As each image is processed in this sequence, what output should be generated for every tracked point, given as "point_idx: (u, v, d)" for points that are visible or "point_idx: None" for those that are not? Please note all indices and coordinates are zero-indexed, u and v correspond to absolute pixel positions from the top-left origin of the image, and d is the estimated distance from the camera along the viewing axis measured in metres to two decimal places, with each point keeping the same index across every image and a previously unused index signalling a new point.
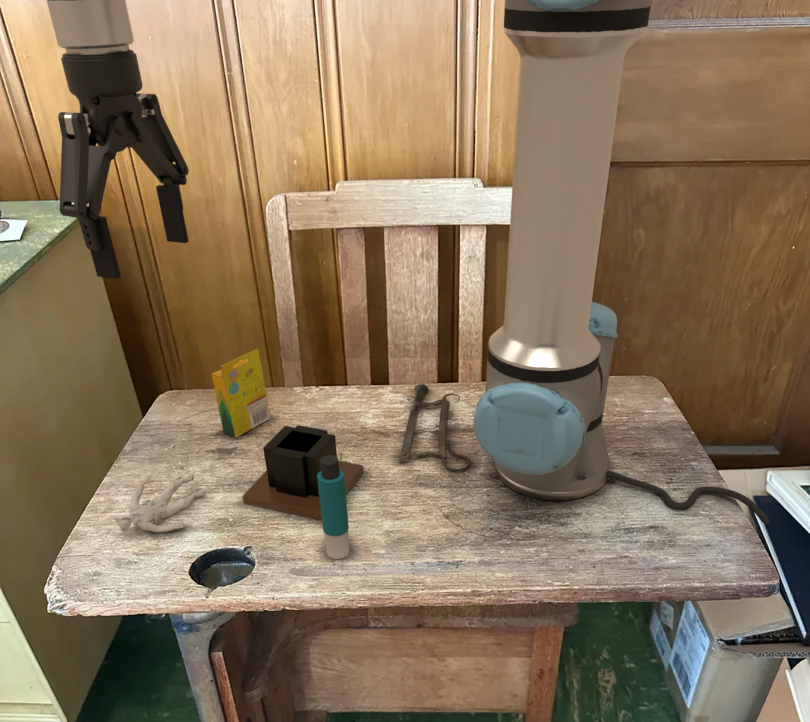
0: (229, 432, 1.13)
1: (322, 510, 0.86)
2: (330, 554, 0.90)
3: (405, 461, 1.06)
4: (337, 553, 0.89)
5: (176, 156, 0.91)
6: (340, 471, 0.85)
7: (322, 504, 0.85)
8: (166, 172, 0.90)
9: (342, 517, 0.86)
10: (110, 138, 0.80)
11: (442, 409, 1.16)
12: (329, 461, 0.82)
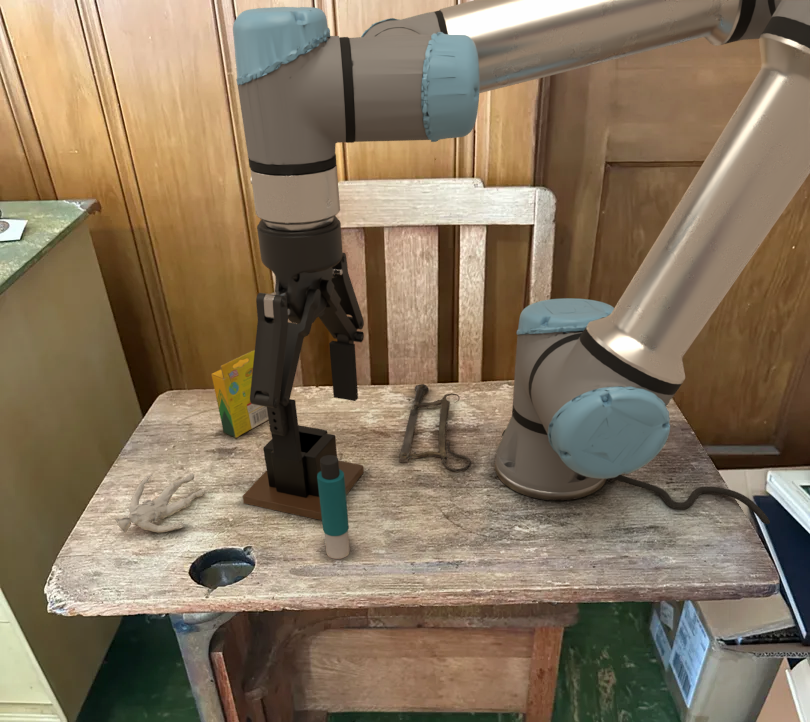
0: (229, 432, 1.13)
1: (322, 510, 0.86)
2: (330, 554, 0.90)
3: (405, 461, 1.06)
4: (337, 553, 0.89)
5: (355, 312, 0.81)
6: (340, 471, 0.85)
7: (322, 504, 0.85)
8: (345, 331, 0.80)
9: (342, 517, 0.86)
10: (306, 315, 0.70)
11: (442, 409, 1.16)
12: (329, 461, 0.82)
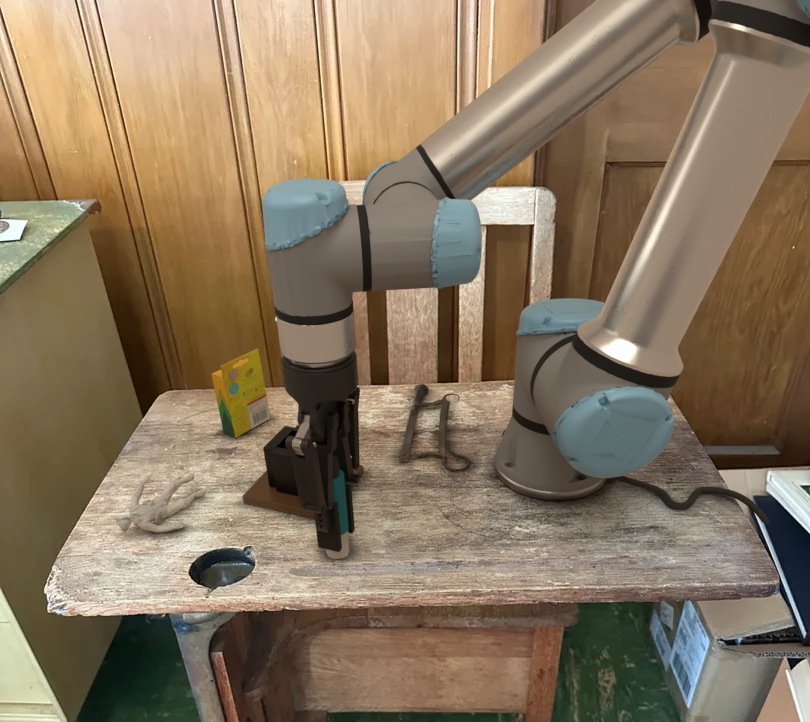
0: (229, 432, 1.13)
1: None
2: (330, 554, 0.90)
3: (405, 461, 1.06)
4: (337, 553, 0.89)
5: (355, 449, 0.86)
6: (340, 471, 0.85)
7: None
8: (345, 467, 0.85)
9: (342, 516, 0.86)
10: (330, 439, 0.78)
11: (442, 409, 1.16)
12: None
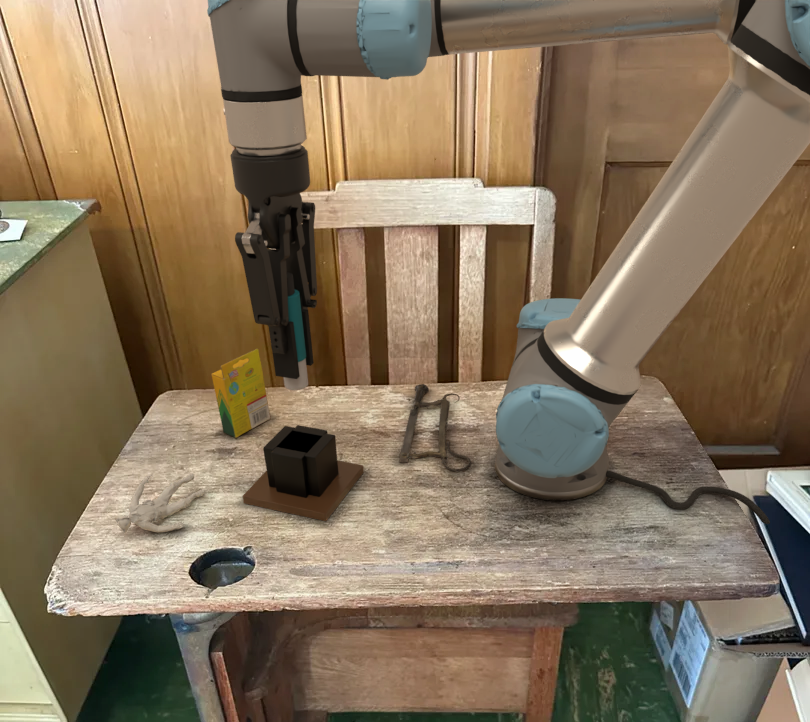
0: (229, 432, 1.13)
1: None
2: (288, 385, 0.88)
3: (405, 461, 1.06)
4: (295, 383, 0.88)
5: (312, 271, 0.85)
6: (295, 290, 0.83)
7: None
8: (301, 287, 0.84)
9: (298, 340, 0.85)
10: (283, 243, 0.77)
11: (442, 409, 1.16)
12: None
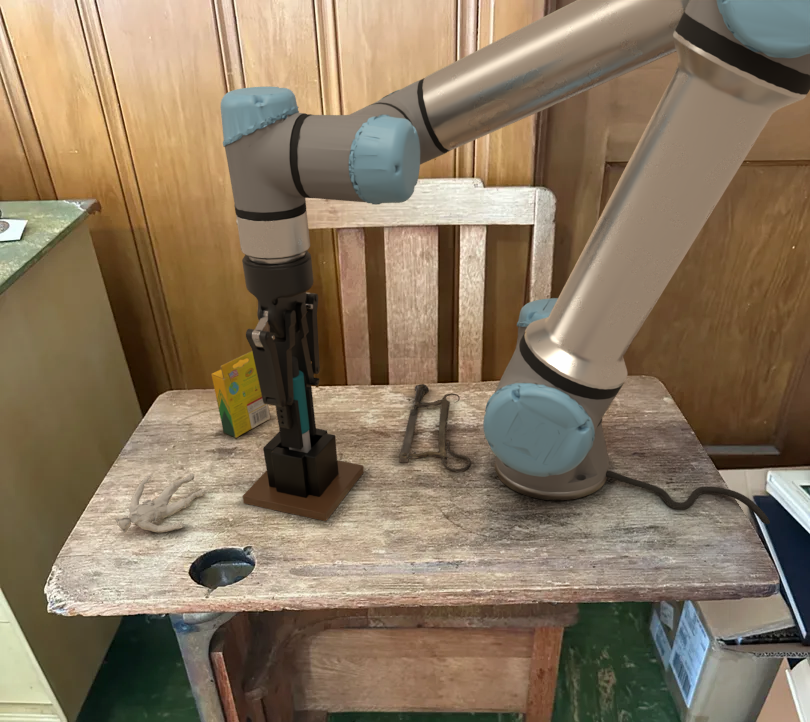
0: (229, 432, 1.13)
1: None
2: None
3: (405, 461, 1.06)
4: None
5: (315, 353, 0.94)
6: (300, 372, 0.92)
7: None
8: (305, 369, 0.93)
9: (302, 415, 0.94)
10: (288, 335, 0.86)
11: (442, 409, 1.16)
12: None
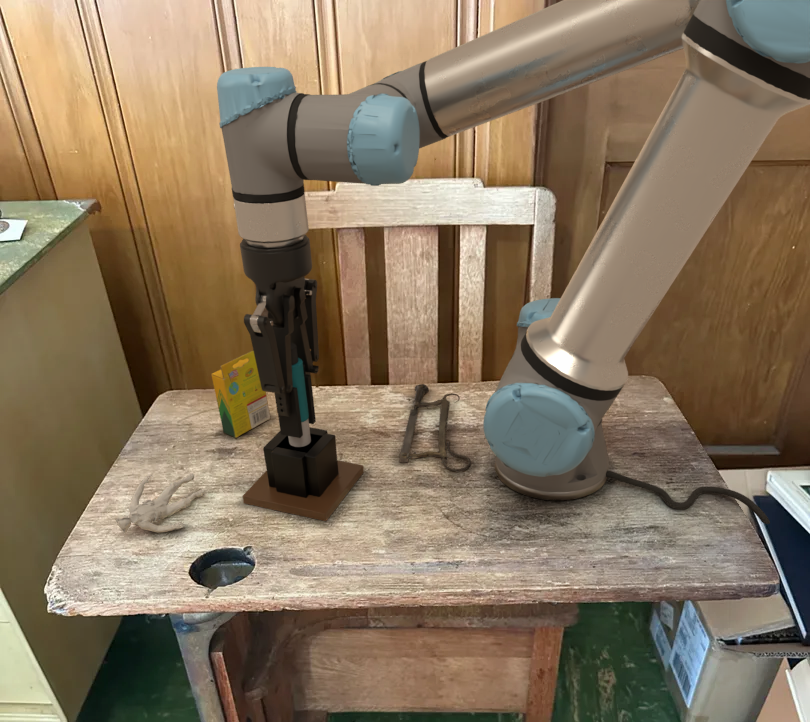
0: (229, 432, 1.13)
1: None
2: (292, 442, 0.96)
3: (405, 461, 1.06)
4: (298, 441, 0.96)
5: (314, 340, 0.93)
6: (299, 359, 0.91)
7: None
8: (304, 356, 0.92)
9: (301, 403, 0.93)
10: (287, 321, 0.85)
11: (442, 409, 1.16)
12: None
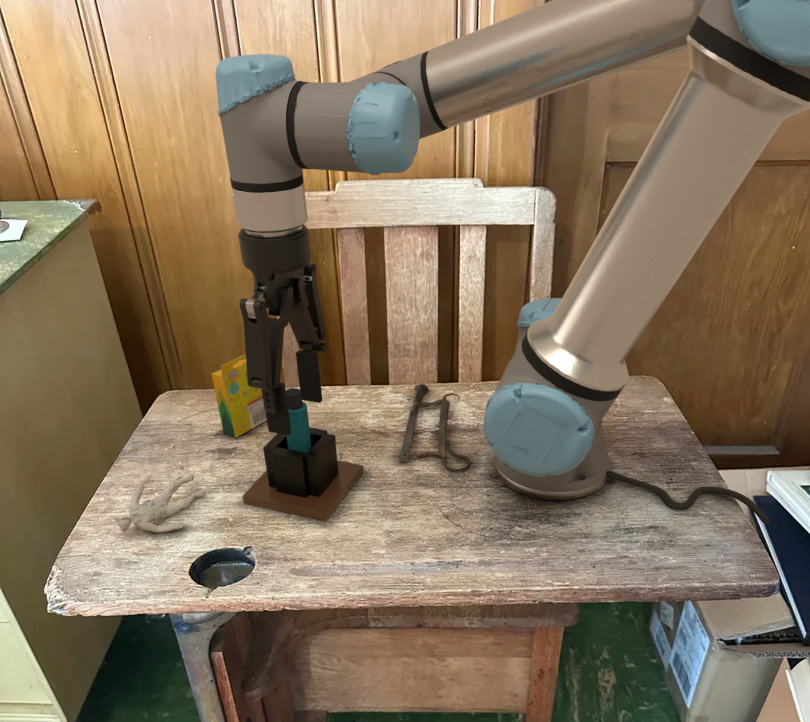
0: (229, 432, 1.13)
1: (288, 439, 0.96)
2: None
3: (405, 461, 1.06)
4: None
5: (319, 321, 0.93)
6: (303, 403, 0.95)
7: None
8: (310, 338, 0.92)
9: (305, 445, 0.96)
10: (283, 311, 0.84)
11: (442, 409, 1.16)
12: (293, 393, 0.93)
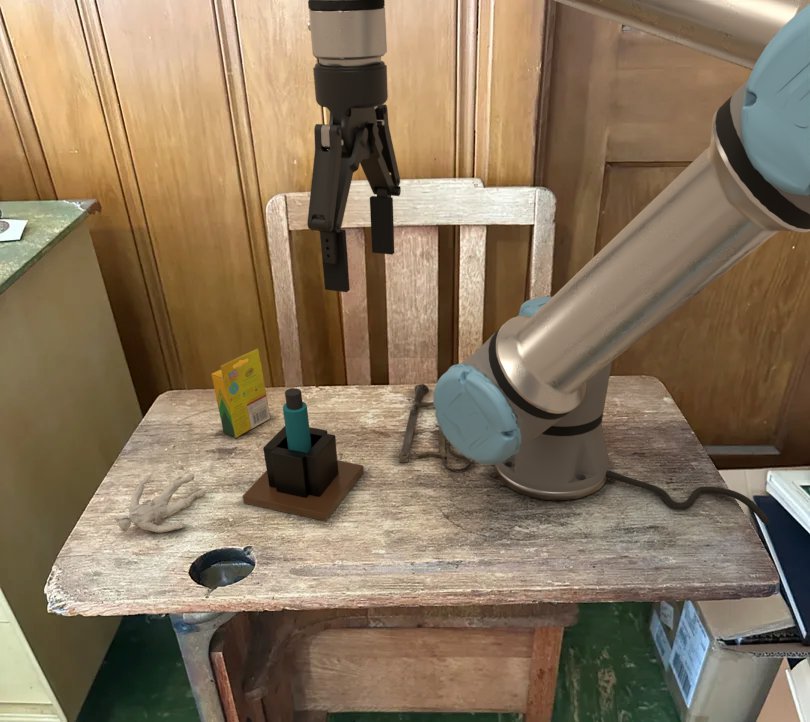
0: (229, 432, 1.13)
1: (288, 439, 0.96)
2: None
3: (405, 461, 1.06)
4: None
5: (393, 167, 0.90)
6: (303, 403, 0.95)
7: (288, 433, 0.96)
8: (385, 183, 0.89)
9: (305, 445, 0.96)
10: (356, 150, 0.79)
11: None
12: (293, 393, 0.93)
